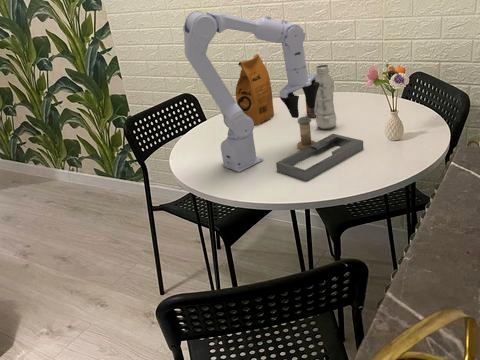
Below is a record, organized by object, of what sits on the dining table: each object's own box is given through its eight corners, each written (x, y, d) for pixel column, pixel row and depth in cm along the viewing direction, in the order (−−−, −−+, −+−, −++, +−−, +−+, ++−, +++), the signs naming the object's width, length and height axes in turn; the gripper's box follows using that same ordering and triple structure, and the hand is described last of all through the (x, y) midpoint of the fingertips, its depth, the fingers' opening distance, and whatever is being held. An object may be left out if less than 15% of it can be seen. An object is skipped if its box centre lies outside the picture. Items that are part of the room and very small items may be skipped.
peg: (307, 152, 149) (304, 123, 145) (293, 148, 153) (290, 120, 149) (320, 145, 152) (317, 117, 148) (306, 141, 156) (303, 114, 152)
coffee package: (235, 124, 180) (225, 62, 170) (256, 112, 188) (248, 53, 178) (257, 127, 173) (248, 63, 164) (278, 115, 182) (271, 53, 172)
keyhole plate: (306, 181, 132) (305, 172, 131) (276, 171, 140) (275, 162, 139) (363, 149, 145) (363, 140, 144) (333, 141, 153) (333, 133, 152)
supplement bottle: (303, 115, 178) (300, 83, 173) (318, 111, 180) (315, 79, 175) (312, 119, 173) (310, 87, 168) (327, 115, 175) (325, 83, 170)
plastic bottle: (321, 132, 161) (316, 70, 152) (313, 126, 167) (308, 66, 158) (340, 128, 162) (336, 66, 153) (331, 122, 168) (327, 62, 159)
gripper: (290, 76, 135) (298, 123, 142) (323, 59, 143) (329, 104, 150) (270, 75, 140) (279, 120, 146) (303, 58, 148) (310, 102, 155)
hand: (303, 112), depth 148 cm, fingers open, 7 cm apart
